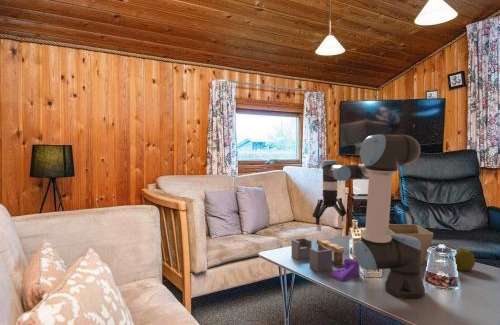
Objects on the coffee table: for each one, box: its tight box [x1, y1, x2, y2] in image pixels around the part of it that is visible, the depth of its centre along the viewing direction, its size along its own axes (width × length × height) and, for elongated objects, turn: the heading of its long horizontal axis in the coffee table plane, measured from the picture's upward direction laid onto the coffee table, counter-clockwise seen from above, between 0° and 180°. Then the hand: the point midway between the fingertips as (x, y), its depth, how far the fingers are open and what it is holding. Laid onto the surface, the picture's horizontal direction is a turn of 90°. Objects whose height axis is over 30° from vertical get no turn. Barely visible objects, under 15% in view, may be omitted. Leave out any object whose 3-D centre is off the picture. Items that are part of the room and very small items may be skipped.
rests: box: [317, 244, 344, 266], centre depth 181 cm, size 17×3×6 cm, turn 24°
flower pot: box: [388, 223, 434, 265], centre depth 178 cm, size 19×19×17 cm
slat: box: [316, 238, 345, 254], centre depth 181 cm, size 18×4×2 cm, turn 24°
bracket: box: [329, 257, 360, 282], centre depth 159 cm, size 12×7×7 cm, turn 125°
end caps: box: [291, 237, 333, 273], centre depth 176 cm, size 24×8×10 cm, turn 24°
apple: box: [455, 248, 476, 272], centre depth 165 cm, size 10×10×11 cm
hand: (329, 229), depth 181 cm, fingers open, 13 cm apart
